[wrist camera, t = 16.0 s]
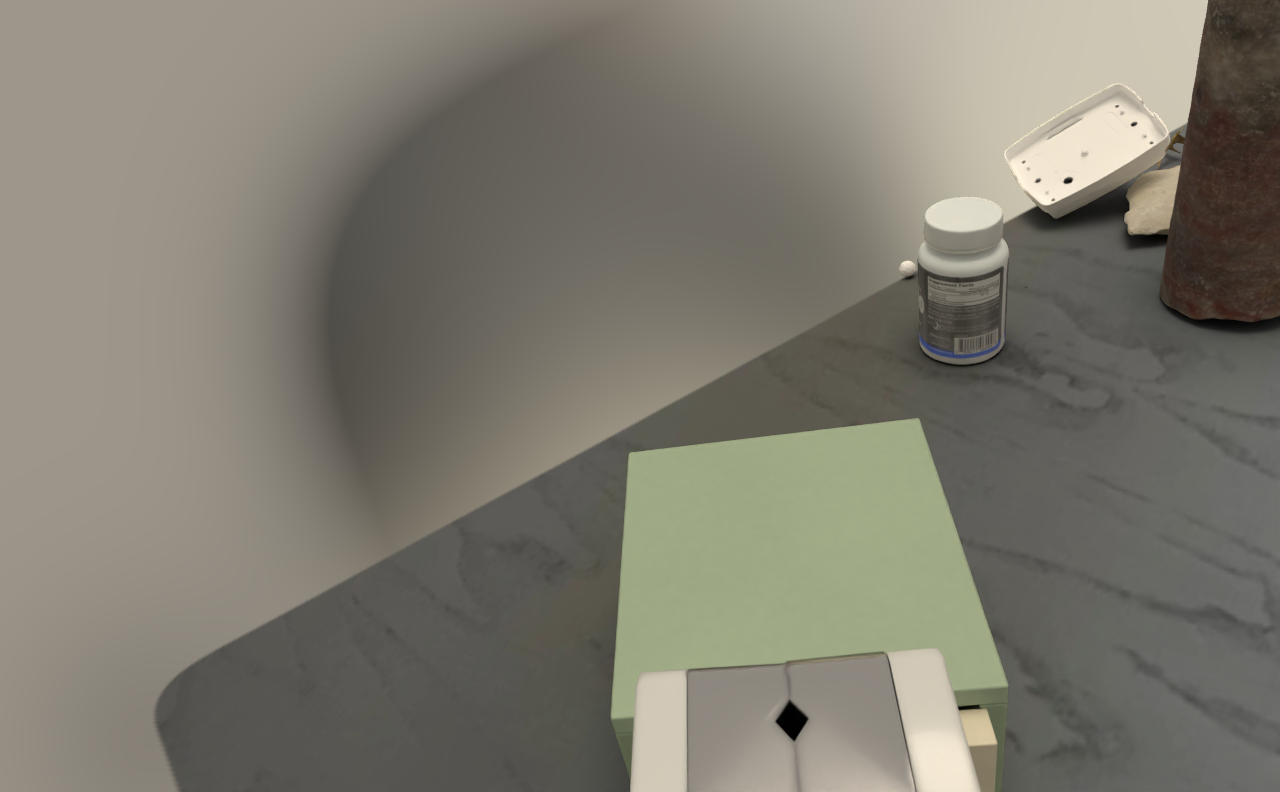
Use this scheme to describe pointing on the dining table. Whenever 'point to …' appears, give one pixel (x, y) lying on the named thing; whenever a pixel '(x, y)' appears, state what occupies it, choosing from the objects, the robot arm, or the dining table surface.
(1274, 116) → the rusty brown cylinder
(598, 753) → the dining table surface
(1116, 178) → the white plastic casing
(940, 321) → the pill bottle
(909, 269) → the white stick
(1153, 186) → the decorative stone
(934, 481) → the cabinet
